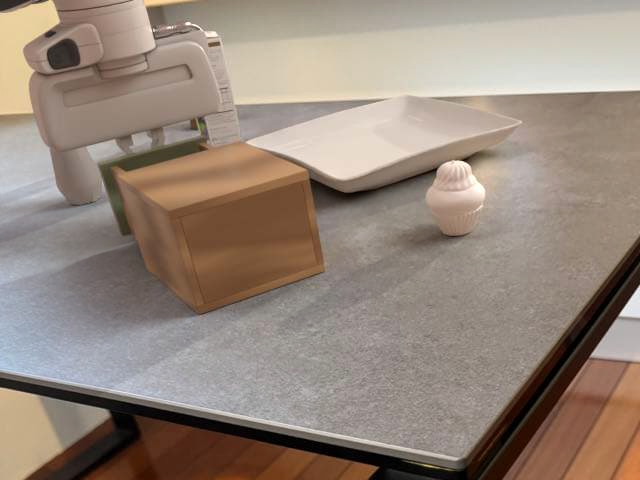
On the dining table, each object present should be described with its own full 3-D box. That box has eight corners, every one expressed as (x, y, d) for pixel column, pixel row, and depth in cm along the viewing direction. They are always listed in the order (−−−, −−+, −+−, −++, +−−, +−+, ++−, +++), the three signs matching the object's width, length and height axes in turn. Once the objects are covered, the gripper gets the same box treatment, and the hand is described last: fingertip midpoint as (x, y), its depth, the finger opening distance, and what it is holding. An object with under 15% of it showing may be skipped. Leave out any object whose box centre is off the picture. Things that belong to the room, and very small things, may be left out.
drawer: (108, 224, 96) (84, 154, 91) (204, 195, 100) (186, 127, 95) (161, 269, 83) (137, 191, 78) (269, 234, 87) (253, 158, 82)
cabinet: (146, 268, 86) (115, 174, 80) (261, 232, 91) (240, 140, 84) (199, 315, 75) (168, 210, 69) (325, 271, 80) (307, 169, 74)
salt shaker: (84, 208, 105) (44, 97, 96) (54, 205, 107) (13, 97, 99) (116, 193, 108) (80, 85, 100) (87, 191, 111) (49, 85, 102)
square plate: (408, 119, 121) (406, 90, 118) (526, 151, 103) (526, 117, 100) (246, 166, 111) (239, 136, 109) (344, 211, 93) (338, 176, 90)
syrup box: (201, 146, 122) (173, 36, 113) (240, 139, 123) (215, 28, 114) (206, 156, 118) (177, 41, 108) (246, 148, 119) (220, 33, 109)
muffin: (499, 225, 84) (496, 154, 80) (460, 245, 81) (455, 173, 77) (455, 216, 88) (450, 147, 83) (416, 234, 85) (409, 164, 80)
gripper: (191, 14, 90) (222, 146, 99) (6, 52, 83) (58, 191, 92) (212, 18, 86) (242, 156, 95) (19, 58, 79) (72, 203, 88)
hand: (150, 173), depth 93 cm, fingers closed, pressing on drawer
